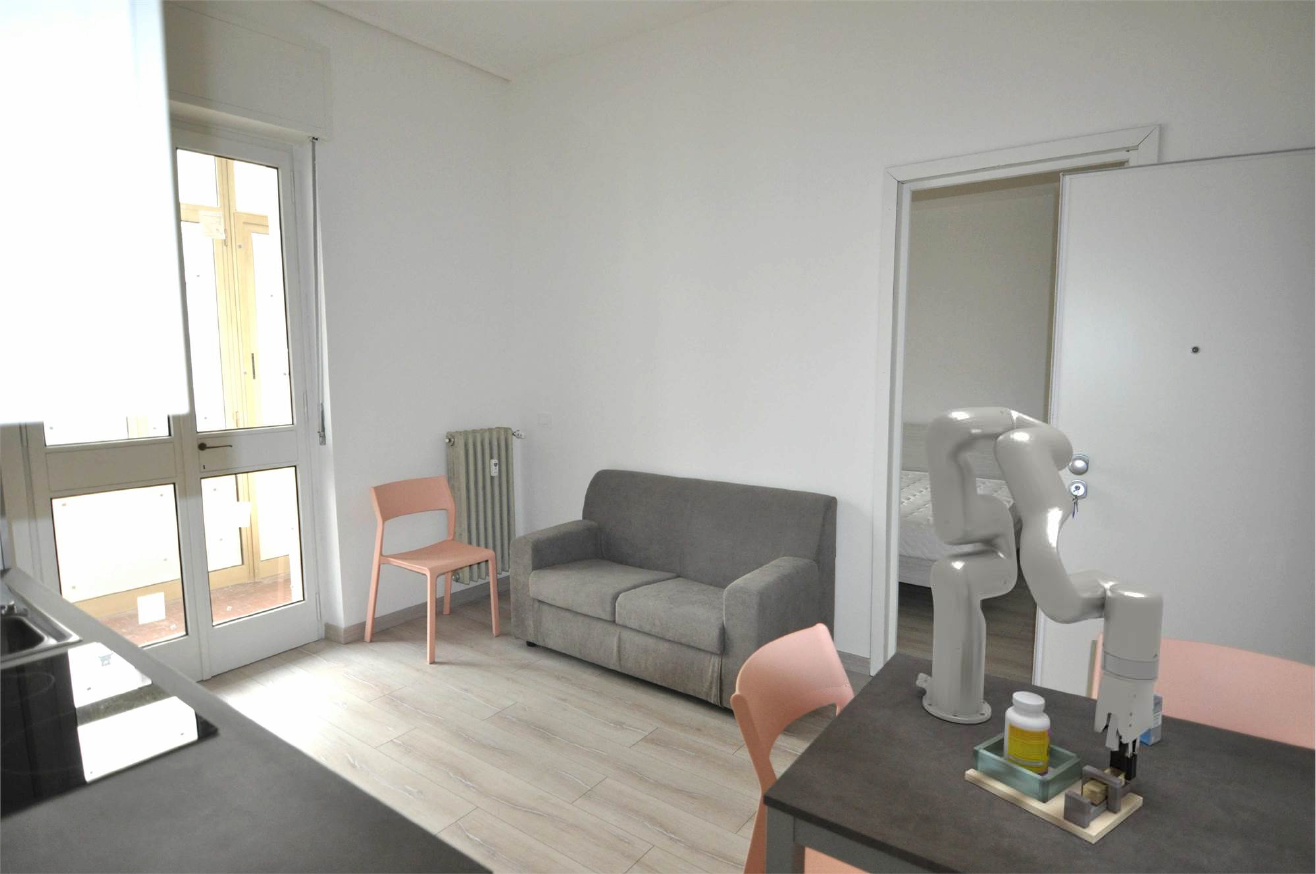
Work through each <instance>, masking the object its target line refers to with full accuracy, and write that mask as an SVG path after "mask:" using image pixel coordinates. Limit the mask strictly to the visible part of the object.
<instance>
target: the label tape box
mask: <svg viewBox="0 0 1316 874" xmlns="http://www.w3.org/2000/svg"><path fill="white" fill-rule="evenodd" d="M1162 716H1163V696H1161V695H1158V694H1156V693H1154V708H1153V719H1152V724H1151V727H1150V728H1149V729H1148V730H1147V731H1146V732H1144V733H1143V734H1142V735H1140V741H1139V742H1142V743H1144V744H1147V745H1149V746H1151V745H1154V744H1156V743H1157V742H1159V741H1160V740H1162V739H1161V736H1162V719H1163V717H1162Z"/></svg>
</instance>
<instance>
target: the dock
mask: <svg viewBox="0 0 1316 874" xmlns="http://www.w3.org/2000/svg"><path fill="white" fill-rule="evenodd" d="M1004 735H1005V730H1004V731H1003V732H1001V733H999V734H997V735H995V736H993V737H992V738H990V739H987V740H986V741H983V742H982V743H980V744H979V745H976V746H975V747H973V748H972V765H971V768H970V769H969V770H966V771H965V773H964V780H966V781H968V782H970V783H972V784H974V785H976V786H978V787H979V788H982V789H984V790H985V791H987V792H989V793H992V794H994V795H996V796H998V797H999V798H1002V799H1003V800H1005V801H1007V802H1010V803H1012V804H1014V805H1015V806H1018V807H1020V808H1021V809H1023V810H1026V811H1027V812H1030V813H1031V814H1033V815H1035V816H1038V817H1039V818H1041V819H1043V820H1045V821H1047V822H1050V823H1051V824H1053V825H1055V826H1057V827H1058V828H1061V829H1063V830H1065V831H1067V832H1069V833H1071V834H1073V835H1075V836H1077V837H1079V838H1081V839H1082V840H1085V841H1087V842H1089V843H1091V844H1093V845H1094V844H1095V843H1097V842H1098V841H1100V840H1101V839H1102V838H1103V837H1104V836H1105V835H1107V834H1108V833H1109V832H1111V831H1112V830H1113V829H1115V828H1116V827H1117V826H1118V825H1119V824H1121V822H1123V821H1124V820H1125V819H1127V818H1128V817H1130V815H1132V814H1133V813H1134V812H1136V811H1137V810H1138V809H1139V808H1141V807H1142V806H1143V800H1144V797H1142V796H1140V795H1138V794H1136V793H1134V792H1131V784H1132V783H1131V782H1130V781H1128V780H1125V779H1124V785H1123V786H1122V783H1123V780H1122V779H1120V778H1117V777H1115V776H1113V775H1110V774H1108V773H1105V772H1104V771H1103V770H1100V769H1098V768H1096V767H1093V766H1091V765H1089V764H1087V765H1085V766H1084V759H1085V758H1084V757H1083V756H1080V755H1079V754H1076V753H1073V752H1072V751H1069V750H1066V749H1064V748H1062V747H1059V746H1057V745H1055V744H1052V743H1051V742H1050V743H1049V766H1048V774H1046V775H1045V776H1043V777H1042V776H1040V775H1037V774H1035V773H1033V772H1031V771H1029V770H1027V769H1024V768H1022V767H1020V766H1018V765H1016V764H1013V763H1011V762H1009V761H1007V760H1005V759H1003V755H1004ZM1094 778H1095V779H1097V780H1099V781H1102V782H1104V783H1106V784H1108V785H1109V790H1108V797H1107V798H1105V799H1104V800H1103V801H1101V802H1100V803H1098V804H1094V803H1092V802H1091V799H1089V798H1087V797H1084V796H1083V786H1084V785H1085V784H1087V783H1088V782H1089V781H1091V780H1092V779H1094Z"/></svg>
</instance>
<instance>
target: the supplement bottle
mask: <svg viewBox="0 0 1316 874" xmlns="http://www.w3.org/2000/svg"><path fill="white" fill-rule="evenodd" d="M1012 704H1013V705H1012V706H1010V707H1009V708H1008V709H1007V710H1006V711H1005V714H1004V716H1005V718H1004V731H1005V735H1004V755H1003V759H1005V760H1007V761H1009V762H1011V763H1013V764H1016V765H1018V766H1020V767H1022V768H1024V769H1027V770H1029V771H1031V772H1033V773H1035V774H1037V775H1040V776H1042V777H1043V776H1045V775H1046V774H1048V766H1049V743H1050V744H1051V742H1050V739H1051V720H1050V717H1049V716H1048V715H1047V714H1046V713H1045V712H1044V710H1045V708H1046V706H1045V705H1046V700H1045V698H1044V697H1042V696H1040V695H1039V694H1036V693H1034V692H1030V691H1023V690H1022V691H1016V692H1014V693H1013V694H1012Z"/></svg>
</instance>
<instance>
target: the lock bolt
mask: <svg viewBox="0 0 1316 874" xmlns="http://www.w3.org/2000/svg"><path fill="white" fill-rule="evenodd" d="M1103 772H1105V773H1108V774H1110V775H1113V776H1115V777H1117V778H1120V779H1122V780H1123V783H1122V786H1123V785H1124V780H1125V779H1124V778H1125V772H1123V771H1120V770H1118V769H1116V768H1113V767H1110V766H1109V767H1108V768H1107V769H1105V770H1104V771H1103ZM1108 790H1109V785H1108V784H1106V783H1104V782H1102V781H1099V780H1097V779H1095V778H1094V779H1092V780H1091V781H1089V782H1088V783H1087V784H1085V785H1084V786H1083V796H1084V797H1087V798H1089V799H1091V802H1092V803H1094V804H1098V803H1100V802H1101V801H1103V800H1104V799H1105V798H1107V797H1108Z"/></svg>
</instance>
